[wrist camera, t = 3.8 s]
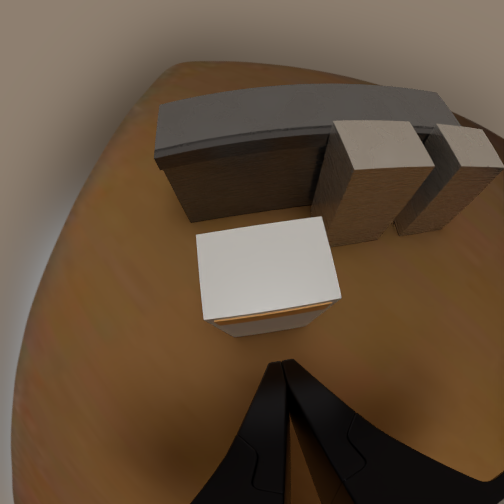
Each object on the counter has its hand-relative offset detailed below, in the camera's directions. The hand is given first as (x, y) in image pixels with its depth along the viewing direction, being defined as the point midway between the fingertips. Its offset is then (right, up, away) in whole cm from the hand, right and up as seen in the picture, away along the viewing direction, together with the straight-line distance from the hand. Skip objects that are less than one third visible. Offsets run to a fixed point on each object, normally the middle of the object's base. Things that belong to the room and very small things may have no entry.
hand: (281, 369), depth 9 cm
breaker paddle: (0, 0, +9) cm, 9 cm away
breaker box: (+4, +8, +12) cm, 15 cm away
